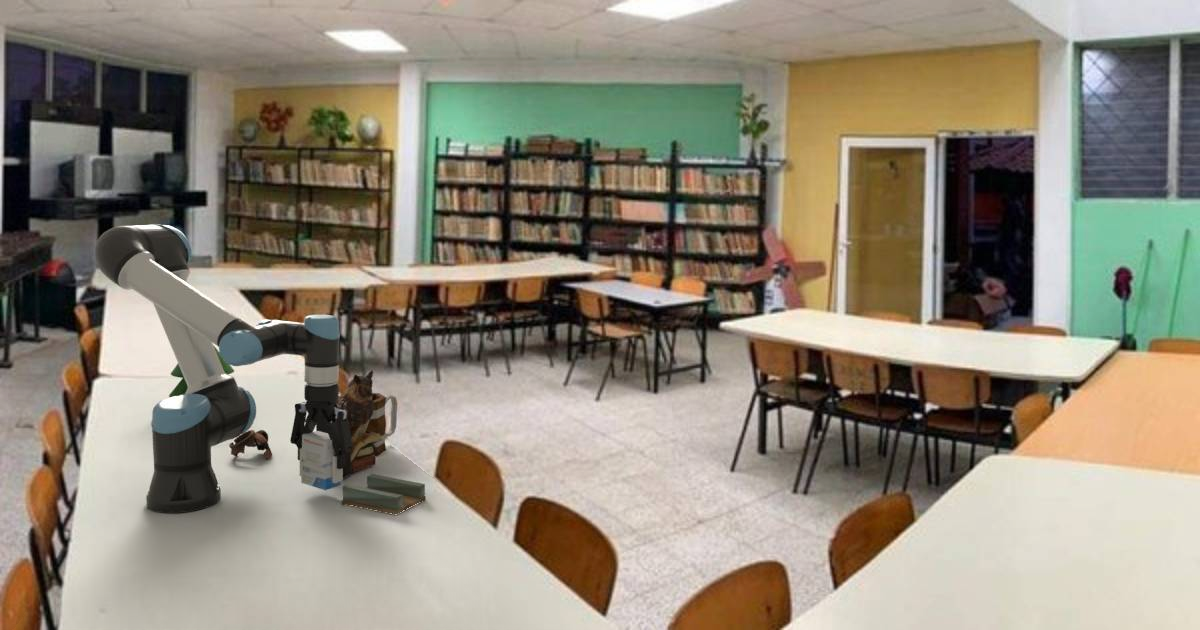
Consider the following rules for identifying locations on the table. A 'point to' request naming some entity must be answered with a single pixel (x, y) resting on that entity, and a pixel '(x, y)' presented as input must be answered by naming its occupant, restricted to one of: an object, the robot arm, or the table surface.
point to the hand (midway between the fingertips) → (321, 477)
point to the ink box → (317, 460)
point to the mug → (381, 419)
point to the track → (384, 494)
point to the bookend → (358, 423)
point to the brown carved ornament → (251, 443)
